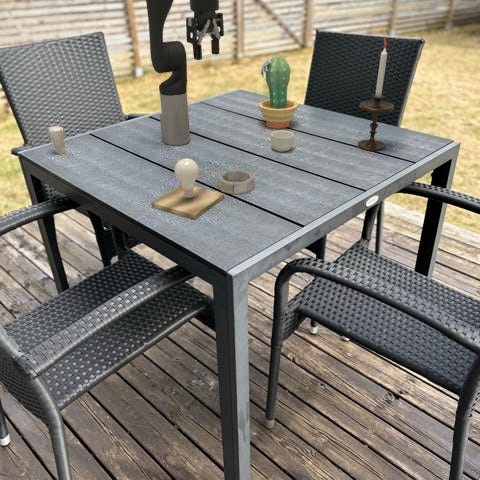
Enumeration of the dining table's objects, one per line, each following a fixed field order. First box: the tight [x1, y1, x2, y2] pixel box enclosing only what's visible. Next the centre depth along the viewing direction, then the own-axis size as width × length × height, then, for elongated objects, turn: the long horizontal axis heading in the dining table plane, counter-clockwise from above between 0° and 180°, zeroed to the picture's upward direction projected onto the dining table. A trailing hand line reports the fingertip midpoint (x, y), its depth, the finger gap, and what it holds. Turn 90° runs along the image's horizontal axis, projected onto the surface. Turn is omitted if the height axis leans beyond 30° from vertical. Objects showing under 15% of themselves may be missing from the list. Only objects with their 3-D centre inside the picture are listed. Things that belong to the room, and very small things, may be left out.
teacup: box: [270, 129, 295, 153], centre depth 158 cm, size 10×8×5 cm
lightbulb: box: [174, 157, 200, 198], centre depth 122 cm, size 6×6×11 cm
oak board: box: [151, 184, 225, 220], centre depth 125 cm, size 14×14×1 cm
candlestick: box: [357, 37, 395, 152], centre depth 150 cm, size 11×11×35 cm
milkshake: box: [48, 121, 67, 155], centre depth 156 cm, size 4×5×10 cm
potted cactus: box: [257, 55, 299, 129], centre depth 175 cm, size 15×15×25 cm
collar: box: [217, 169, 256, 195], centre depth 133 cm, size 10×10×3 cm
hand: (206, 56), depth 127 cm, fingers open, 8 cm apart
